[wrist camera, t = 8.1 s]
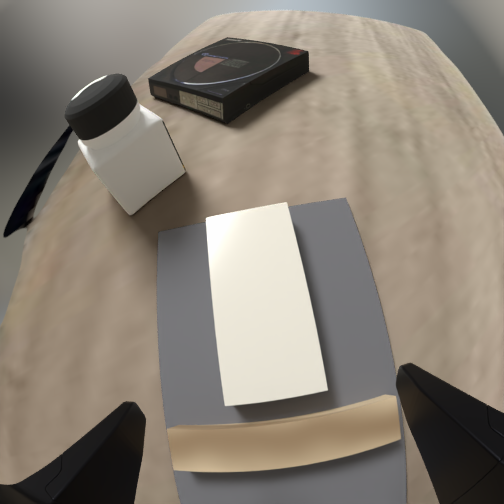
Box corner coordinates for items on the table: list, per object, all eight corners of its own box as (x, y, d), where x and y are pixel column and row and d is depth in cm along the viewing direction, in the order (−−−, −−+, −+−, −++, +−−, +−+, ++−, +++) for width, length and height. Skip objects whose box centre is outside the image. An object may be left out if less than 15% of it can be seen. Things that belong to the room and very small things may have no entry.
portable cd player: (153, 100, 35) (144, 80, 32) (231, 55, 39) (227, 37, 36) (225, 128, 29) (218, 100, 25) (309, 74, 33) (308, 51, 30)
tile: (327, 390, 14) (286, 202, 20) (224, 406, 14) (205, 217, 20) (323, 388, 15) (287, 217, 21) (231, 403, 16) (212, 231, 22)
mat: (403, 506, 10) (406, 508, 10) (191, 534, 11) (189, 536, 11) (344, 201, 22) (345, 197, 21) (160, 234, 23) (158, 231, 22)
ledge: (390, 433, 13) (401, 438, 11) (184, 462, 14) (173, 470, 12) (385, 394, 15) (396, 395, 13) (178, 424, 15) (166, 429, 14)
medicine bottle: (188, 172, 26) (142, 70, 15) (131, 218, 24) (60, 128, 14) (156, 145, 29) (115, 61, 18) (108, 183, 27) (52, 106, 17)
